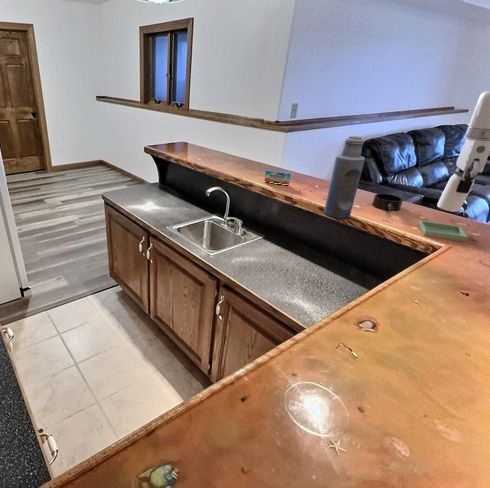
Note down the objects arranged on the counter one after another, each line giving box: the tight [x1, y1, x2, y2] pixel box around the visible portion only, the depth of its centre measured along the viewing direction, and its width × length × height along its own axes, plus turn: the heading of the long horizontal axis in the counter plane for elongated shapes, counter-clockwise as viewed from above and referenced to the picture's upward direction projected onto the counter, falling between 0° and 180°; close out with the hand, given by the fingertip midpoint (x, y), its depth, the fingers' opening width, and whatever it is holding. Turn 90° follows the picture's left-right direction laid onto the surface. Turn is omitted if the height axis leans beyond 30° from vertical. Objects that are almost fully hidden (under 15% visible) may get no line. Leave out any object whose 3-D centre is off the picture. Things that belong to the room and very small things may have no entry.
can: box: [436, 171, 475, 213], centre depth 117 cm, size 6×6×12 cm
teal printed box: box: [264, 169, 292, 186], centre depth 174 cm, size 12×2×6 cm, turn 60°
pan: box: [371, 193, 404, 212], centre depth 143 cm, size 10×19×4 cm, turn 156°
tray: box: [418, 220, 469, 243], centre depth 123 cm, size 12×10×2 cm
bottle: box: [323, 135, 366, 219], centre depth 132 cm, size 10×10×30 cm
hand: (458, 189), depth 116 cm, fingers closed on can, 6 cm apart
